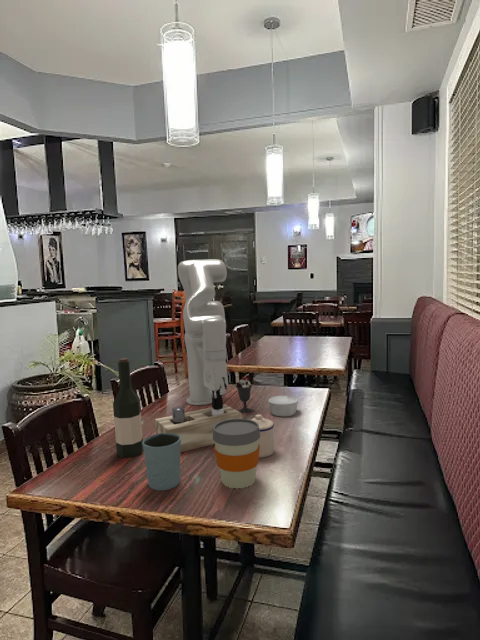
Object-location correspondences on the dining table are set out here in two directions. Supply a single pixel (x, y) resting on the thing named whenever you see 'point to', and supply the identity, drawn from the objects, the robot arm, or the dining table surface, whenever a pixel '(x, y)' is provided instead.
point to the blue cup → (162, 460)
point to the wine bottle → (127, 415)
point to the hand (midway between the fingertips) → (217, 408)
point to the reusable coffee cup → (237, 451)
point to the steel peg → (217, 411)
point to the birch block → (195, 426)
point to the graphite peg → (178, 415)
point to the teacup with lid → (265, 436)
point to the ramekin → (283, 405)
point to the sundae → (244, 392)
